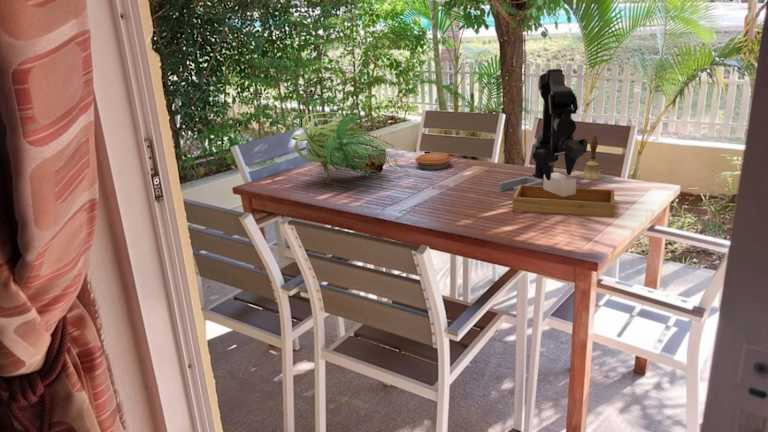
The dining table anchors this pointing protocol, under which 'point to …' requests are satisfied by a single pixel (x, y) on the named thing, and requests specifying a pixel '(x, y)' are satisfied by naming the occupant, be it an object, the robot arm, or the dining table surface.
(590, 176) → the hand bell
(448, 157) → the pie
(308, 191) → the dining table surface
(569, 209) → the tray
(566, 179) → the block
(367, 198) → the dining table surface
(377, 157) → the plant
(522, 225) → the dining table surface
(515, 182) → the holder
